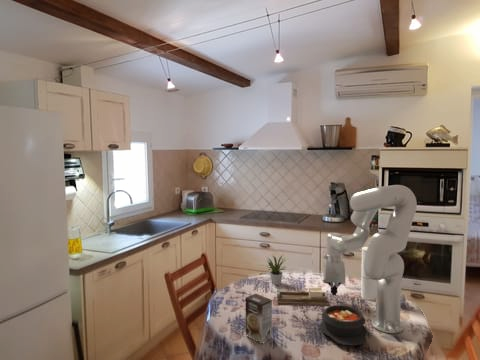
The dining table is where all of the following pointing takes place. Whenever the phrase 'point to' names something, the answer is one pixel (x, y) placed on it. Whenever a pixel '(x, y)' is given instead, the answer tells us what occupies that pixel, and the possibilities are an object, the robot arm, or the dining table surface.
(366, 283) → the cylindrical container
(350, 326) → the casserole
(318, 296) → the block
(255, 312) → the coffee box
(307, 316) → the dining table surface
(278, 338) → the dining table surface
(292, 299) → the chute
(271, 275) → the house plant
